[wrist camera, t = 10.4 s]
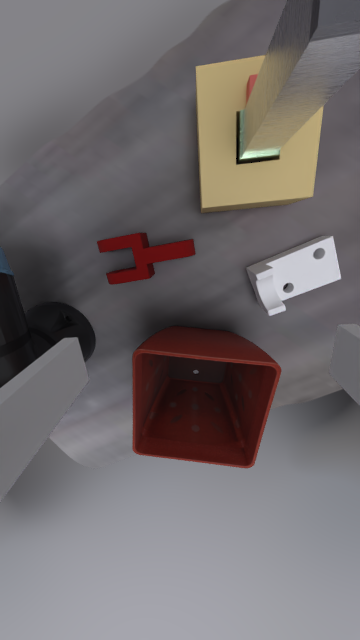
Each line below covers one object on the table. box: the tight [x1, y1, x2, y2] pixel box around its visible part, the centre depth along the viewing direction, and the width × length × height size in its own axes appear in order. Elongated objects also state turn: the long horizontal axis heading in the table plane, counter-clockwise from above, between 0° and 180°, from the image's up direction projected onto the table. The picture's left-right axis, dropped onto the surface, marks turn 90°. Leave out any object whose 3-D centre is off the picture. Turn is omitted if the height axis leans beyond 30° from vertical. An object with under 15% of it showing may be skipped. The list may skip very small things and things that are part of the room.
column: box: [238, 0, 360, 163], centre depth 18 cm, size 5×5×21 cm
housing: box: [196, 55, 323, 213], centre depth 29 cm, size 14×14×10 cm
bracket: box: [246, 236, 341, 316], centre depth 36 cm, size 13×7×8 cm, turn 114°
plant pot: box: [132, 326, 281, 468], centre depth 39 cm, size 19×19×17 cm
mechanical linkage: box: [97, 233, 195, 284], centre depth 37 cm, size 16×7×5 cm, turn 100°
